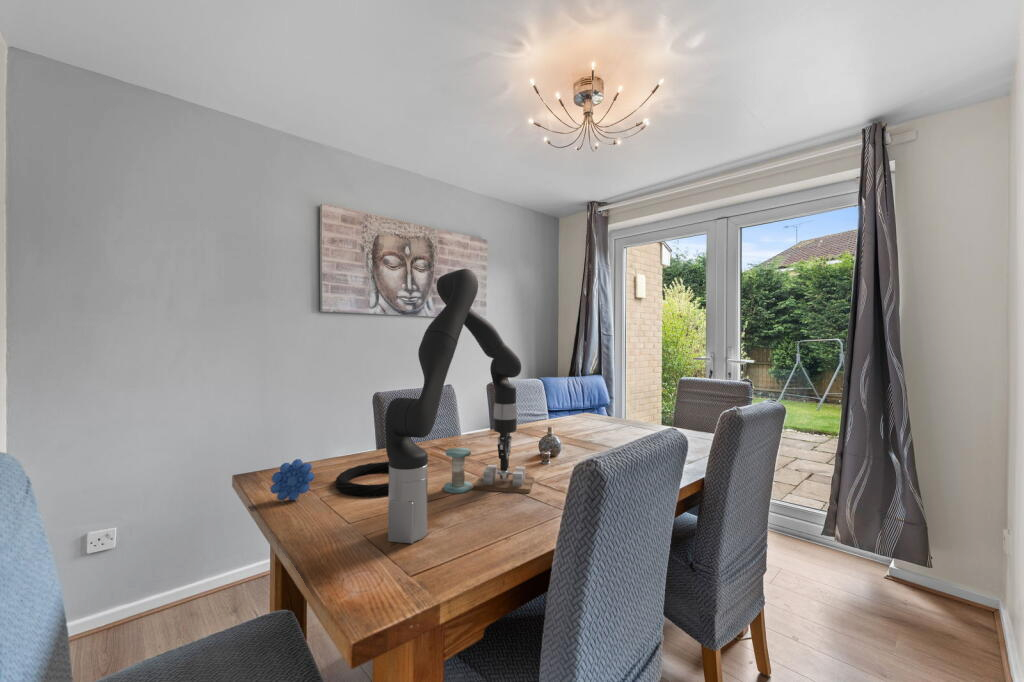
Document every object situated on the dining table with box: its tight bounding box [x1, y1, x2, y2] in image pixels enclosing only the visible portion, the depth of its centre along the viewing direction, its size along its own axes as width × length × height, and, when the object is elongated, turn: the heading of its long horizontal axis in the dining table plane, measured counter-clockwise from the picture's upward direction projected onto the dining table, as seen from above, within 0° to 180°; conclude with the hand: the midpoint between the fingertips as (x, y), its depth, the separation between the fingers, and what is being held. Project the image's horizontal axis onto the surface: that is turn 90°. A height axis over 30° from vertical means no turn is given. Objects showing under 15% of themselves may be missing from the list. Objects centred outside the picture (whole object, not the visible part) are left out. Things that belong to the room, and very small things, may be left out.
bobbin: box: [443, 447, 473, 494], centre depth 141 cm, size 9×9×12 cm
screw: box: [497, 454, 513, 480], centre depth 144 cm, size 13×5×5 cm
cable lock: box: [334, 461, 389, 498], centre depth 147 cm, size 28×4×30 cm
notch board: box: [472, 464, 535, 494], centre depth 144 cm, size 12×18×5 cm, turn 81°
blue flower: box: [270, 458, 315, 501], centre depth 130 cm, size 12×7×12 cm, turn 108°
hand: (504, 469), depth 144 cm, fingers closed on screw, 2 cm apart
